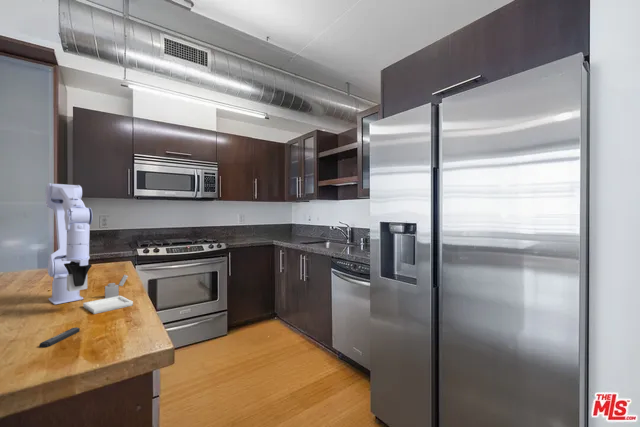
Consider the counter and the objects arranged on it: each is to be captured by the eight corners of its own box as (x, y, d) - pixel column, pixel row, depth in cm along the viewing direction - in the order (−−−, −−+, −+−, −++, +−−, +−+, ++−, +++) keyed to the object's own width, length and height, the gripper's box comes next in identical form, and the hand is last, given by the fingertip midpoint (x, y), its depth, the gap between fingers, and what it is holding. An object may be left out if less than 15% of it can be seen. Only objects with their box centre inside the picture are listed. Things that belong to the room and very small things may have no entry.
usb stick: (71, 332, 77) (71, 326, 77) (81, 332, 77) (81, 326, 77) (37, 348, 67) (37, 342, 67) (48, 349, 67) (48, 342, 67)
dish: (83, 306, 95) (83, 302, 95) (120, 299, 104) (120, 295, 104) (94, 314, 89) (94, 309, 89) (132, 305, 98) (132, 301, 98)
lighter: (105, 298, 105) (105, 277, 105) (104, 297, 106) (105, 276, 106) (127, 295, 110) (128, 274, 110) (127, 294, 111) (127, 274, 111)
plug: (66, 289, 91) (67, 271, 91) (84, 287, 95) (84, 269, 95) (69, 291, 89) (69, 273, 89) (87, 288, 93) (87, 270, 93)
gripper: (56, 243, 93) (55, 283, 93) (67, 246, 85) (67, 291, 85) (83, 241, 99) (82, 279, 99) (96, 244, 90) (95, 286, 90)
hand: (77, 284), depth 92 cm, fingers closed on plug, 3 cm apart
